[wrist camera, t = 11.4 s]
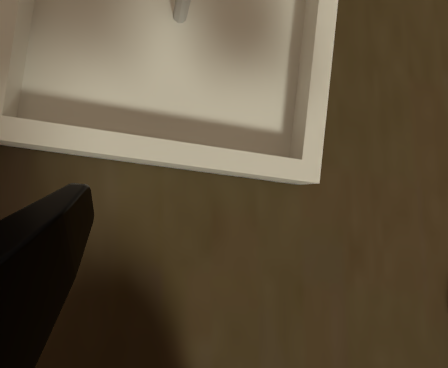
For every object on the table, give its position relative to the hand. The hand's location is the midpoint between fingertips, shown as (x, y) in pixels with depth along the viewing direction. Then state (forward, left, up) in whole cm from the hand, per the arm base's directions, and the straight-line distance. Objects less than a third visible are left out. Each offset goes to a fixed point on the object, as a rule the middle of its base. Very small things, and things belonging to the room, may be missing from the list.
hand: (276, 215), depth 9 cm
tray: (+2, +9, -10) cm, 14 cm away
